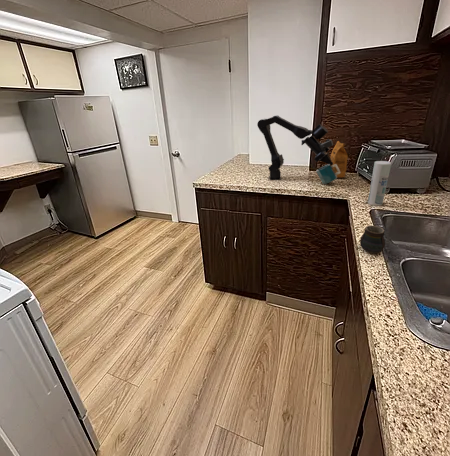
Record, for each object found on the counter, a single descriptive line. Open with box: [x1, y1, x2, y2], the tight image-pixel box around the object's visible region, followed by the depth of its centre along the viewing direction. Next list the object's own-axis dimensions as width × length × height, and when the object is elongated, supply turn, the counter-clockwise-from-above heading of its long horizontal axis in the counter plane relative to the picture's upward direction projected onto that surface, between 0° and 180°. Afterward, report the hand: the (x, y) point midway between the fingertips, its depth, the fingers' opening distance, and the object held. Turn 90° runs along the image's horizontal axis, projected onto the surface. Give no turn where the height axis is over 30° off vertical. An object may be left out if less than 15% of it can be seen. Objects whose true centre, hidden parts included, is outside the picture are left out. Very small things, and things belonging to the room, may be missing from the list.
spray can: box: [367, 160, 392, 207], centre depth 115 cm, size 6×6×20 cm
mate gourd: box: [359, 224, 386, 254], centre depth 82 cm, size 7×8×10 cm
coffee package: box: [329, 140, 349, 179], centre depth 158 cm, size 10×12×22 cm
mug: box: [315, 163, 341, 185], centre depth 146 cm, size 9×8×12 cm
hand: (332, 164), depth 144 cm, fingers closed, pressing on mug
